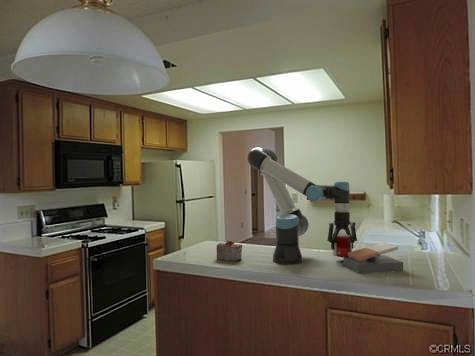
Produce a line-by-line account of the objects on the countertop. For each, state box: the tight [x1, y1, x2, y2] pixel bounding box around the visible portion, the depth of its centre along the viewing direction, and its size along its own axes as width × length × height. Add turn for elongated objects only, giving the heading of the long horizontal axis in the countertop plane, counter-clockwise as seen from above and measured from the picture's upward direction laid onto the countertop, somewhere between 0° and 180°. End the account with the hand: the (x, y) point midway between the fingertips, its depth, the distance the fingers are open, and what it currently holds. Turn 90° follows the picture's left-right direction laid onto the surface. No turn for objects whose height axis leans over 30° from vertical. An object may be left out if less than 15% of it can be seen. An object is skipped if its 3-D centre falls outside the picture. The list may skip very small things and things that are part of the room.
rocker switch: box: [348, 242, 399, 261], centre depth 154 cm, size 20×10×2 cm, turn 99°
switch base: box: [343, 254, 404, 274], centre depth 154 cm, size 22×14×6 cm, turn 99°
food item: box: [216, 240, 243, 262], centre depth 172 cm, size 14×8×10 cm, turn 69°
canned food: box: [335, 232, 350, 258], centre depth 168 cm, size 8×8×11 cm
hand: (342, 255), depth 169 cm, fingers closed on canned food, 8 cm apart
